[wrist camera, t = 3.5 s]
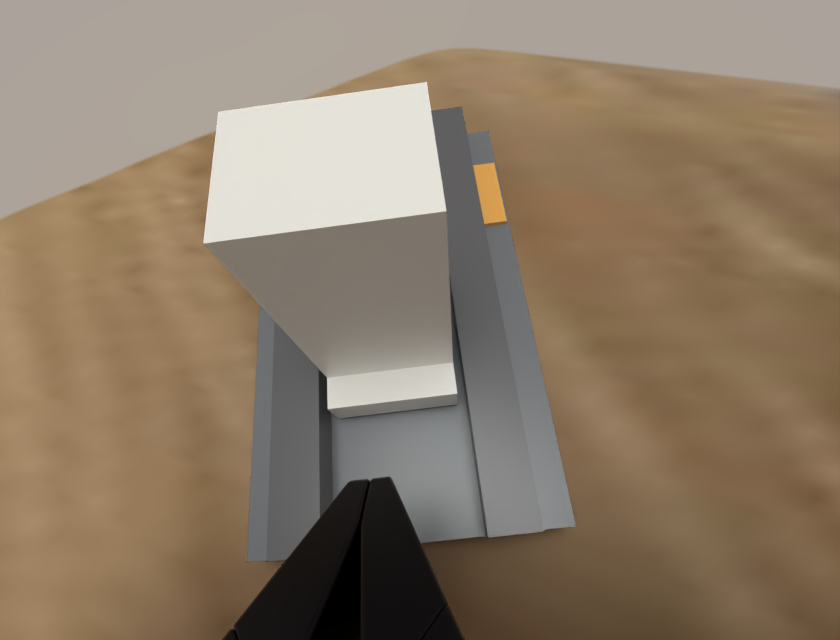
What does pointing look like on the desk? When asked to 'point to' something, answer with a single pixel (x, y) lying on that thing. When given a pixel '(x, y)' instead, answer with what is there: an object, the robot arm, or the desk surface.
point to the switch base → (430, 427)
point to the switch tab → (343, 239)
